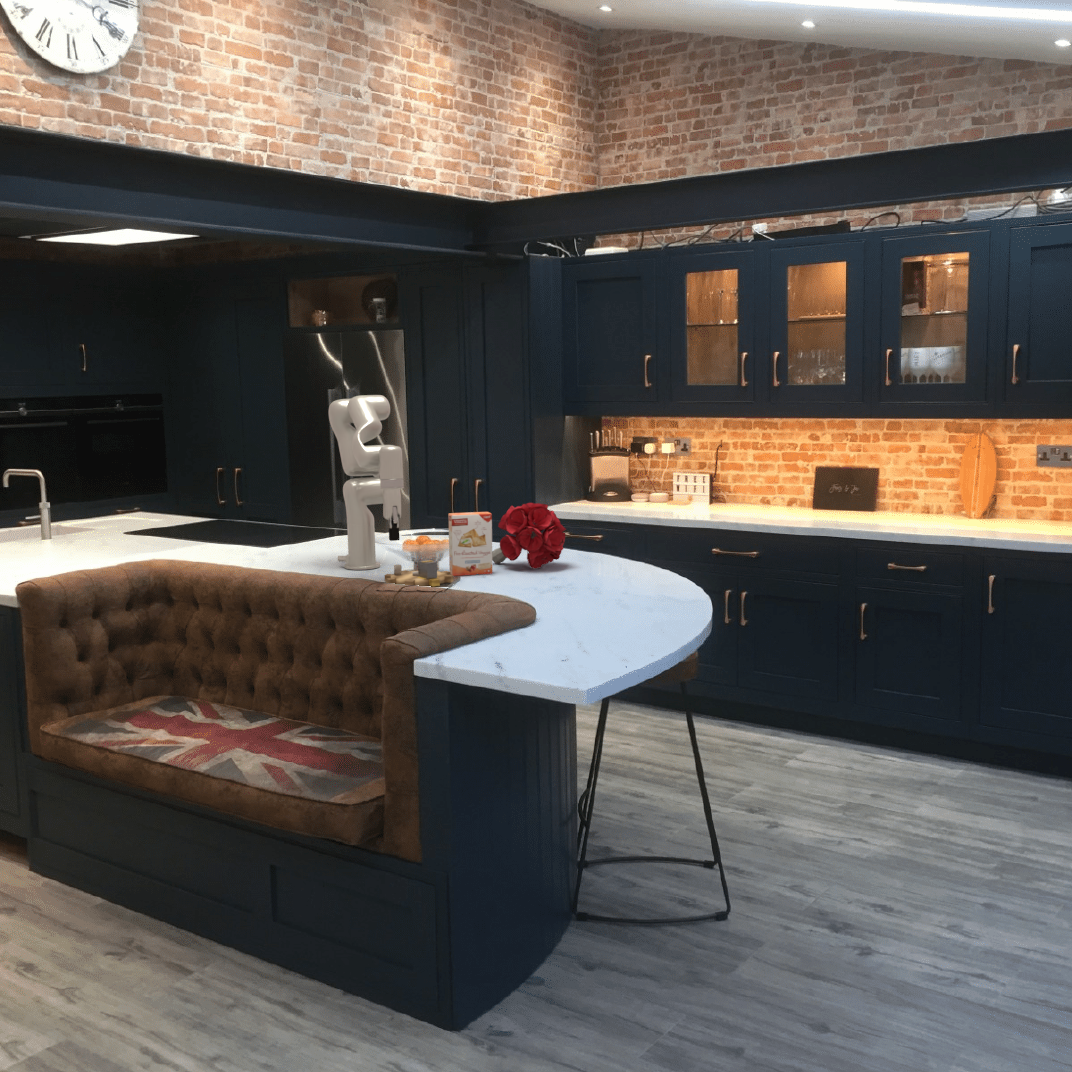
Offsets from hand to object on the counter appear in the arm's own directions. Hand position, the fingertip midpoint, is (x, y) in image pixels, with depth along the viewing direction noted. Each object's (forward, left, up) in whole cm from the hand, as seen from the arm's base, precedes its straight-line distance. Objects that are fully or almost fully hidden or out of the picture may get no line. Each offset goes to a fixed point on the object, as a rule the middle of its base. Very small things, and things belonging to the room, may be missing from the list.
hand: (394, 540), depth 384 cm
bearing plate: (+10, -6, -14) cm, 18 cm away
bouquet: (+38, +32, -14) cm, 52 cm away
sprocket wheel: (+10, -6, -12) cm, 17 cm away
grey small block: (+14, -10, -10) cm, 20 cm away
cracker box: (+22, +16, -14) cm, 30 cm away
